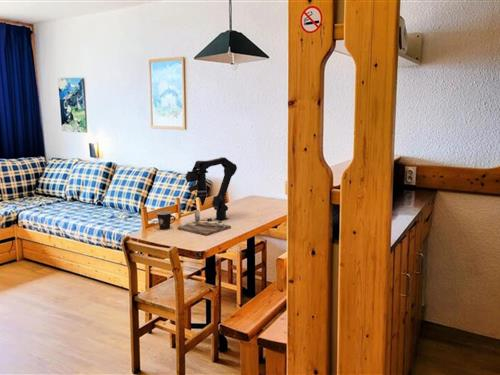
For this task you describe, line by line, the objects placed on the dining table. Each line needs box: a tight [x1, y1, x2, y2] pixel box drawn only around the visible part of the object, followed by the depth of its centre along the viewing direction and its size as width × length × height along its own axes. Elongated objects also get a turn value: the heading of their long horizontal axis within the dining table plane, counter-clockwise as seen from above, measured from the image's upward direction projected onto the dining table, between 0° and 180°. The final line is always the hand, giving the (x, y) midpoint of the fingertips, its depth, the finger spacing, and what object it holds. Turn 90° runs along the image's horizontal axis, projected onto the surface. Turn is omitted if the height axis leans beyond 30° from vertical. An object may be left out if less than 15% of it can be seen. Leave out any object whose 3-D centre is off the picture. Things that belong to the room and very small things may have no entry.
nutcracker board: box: [177, 217, 232, 237], centre depth 276 cm, size 21×26×4 cm
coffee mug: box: [156, 210, 176, 231], centre depth 278 cm, size 12×9×10 cm
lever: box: [194, 209, 225, 227], centre depth 275 cm, size 20×4×8 cm, turn 66°
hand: (202, 204), depth 287 cm, fingers open, 9 cm apart
